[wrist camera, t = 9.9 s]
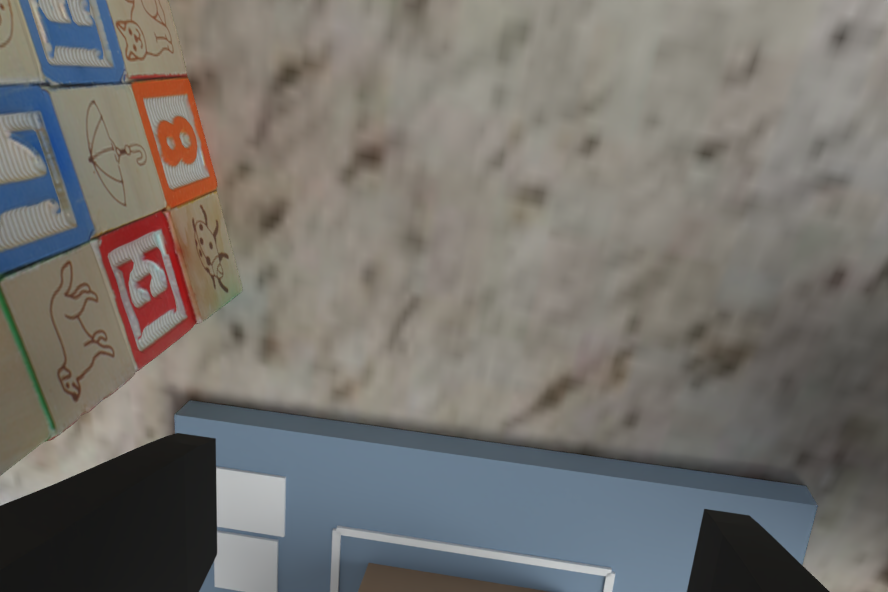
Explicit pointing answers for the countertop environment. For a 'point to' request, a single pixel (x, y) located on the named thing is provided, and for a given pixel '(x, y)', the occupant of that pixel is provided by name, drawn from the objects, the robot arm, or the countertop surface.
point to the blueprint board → (456, 511)
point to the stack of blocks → (97, 208)
